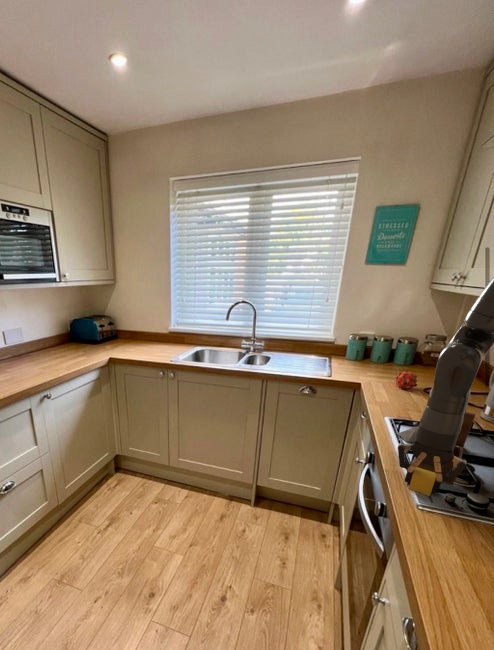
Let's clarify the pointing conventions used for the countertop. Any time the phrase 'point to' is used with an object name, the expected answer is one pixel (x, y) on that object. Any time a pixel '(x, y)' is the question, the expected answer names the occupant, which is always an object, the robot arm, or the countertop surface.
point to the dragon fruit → (406, 380)
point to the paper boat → (409, 434)
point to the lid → (465, 428)
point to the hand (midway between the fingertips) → (420, 487)
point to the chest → (447, 466)
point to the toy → (422, 481)
